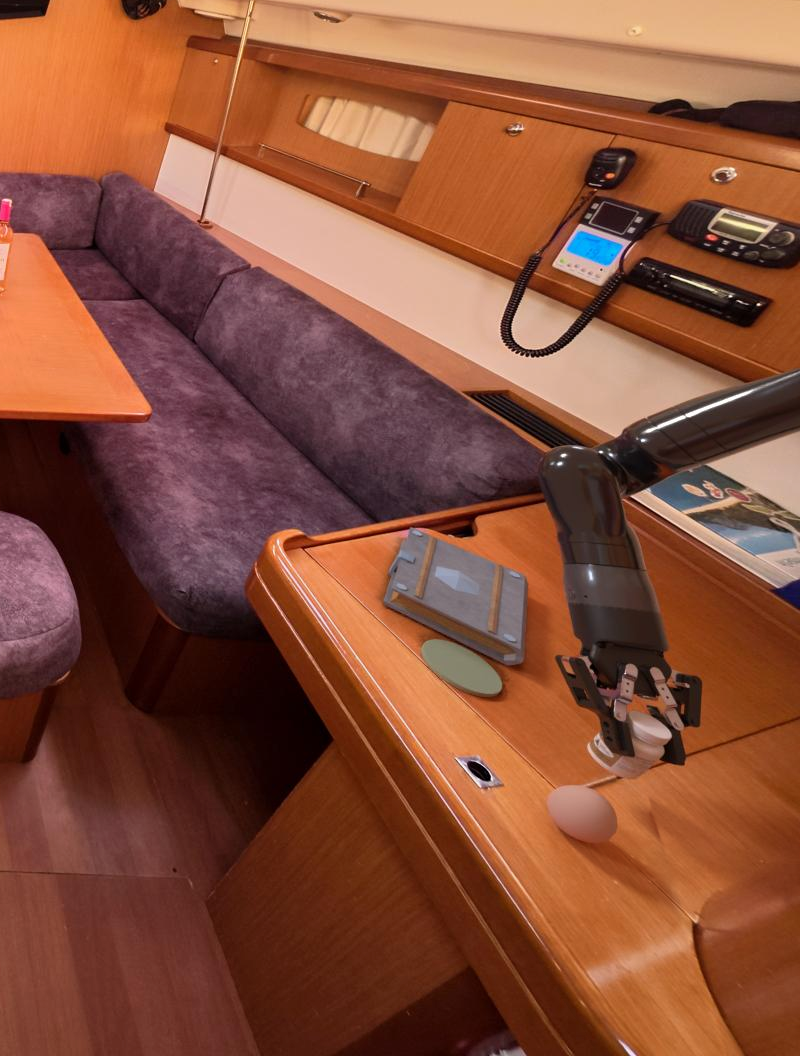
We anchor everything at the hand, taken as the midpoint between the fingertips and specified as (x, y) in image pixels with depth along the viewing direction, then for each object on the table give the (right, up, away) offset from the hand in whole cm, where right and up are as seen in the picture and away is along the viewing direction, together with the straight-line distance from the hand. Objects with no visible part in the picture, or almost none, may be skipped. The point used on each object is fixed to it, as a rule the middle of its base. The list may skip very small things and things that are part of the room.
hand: (646, 758), depth 73 cm
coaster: (-2, 0, +20) cm, 20 cm away
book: (+8, +5, +32) cm, 33 cm away
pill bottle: (0, -3, +4) cm, 5 cm away
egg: (-8, -9, +1) cm, 13 cm away
